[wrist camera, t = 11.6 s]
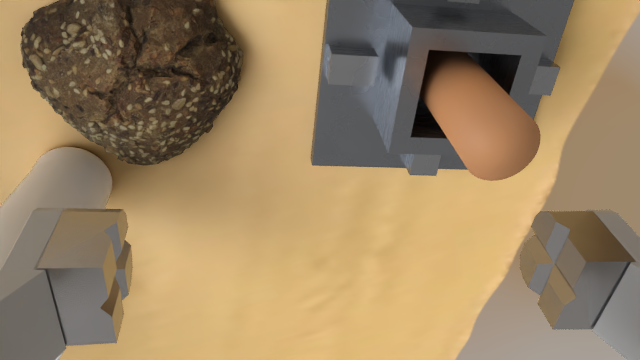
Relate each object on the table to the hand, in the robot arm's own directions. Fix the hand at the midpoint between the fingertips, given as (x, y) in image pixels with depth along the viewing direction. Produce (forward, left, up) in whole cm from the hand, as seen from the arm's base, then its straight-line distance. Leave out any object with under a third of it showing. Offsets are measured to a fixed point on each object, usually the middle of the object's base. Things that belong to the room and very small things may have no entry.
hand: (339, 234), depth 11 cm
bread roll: (+7, -8, -27) cm, 29 cm away
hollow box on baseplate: (+6, +11, -26) cm, 29 cm away
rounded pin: (+6, +11, -25) cm, 28 cm away
